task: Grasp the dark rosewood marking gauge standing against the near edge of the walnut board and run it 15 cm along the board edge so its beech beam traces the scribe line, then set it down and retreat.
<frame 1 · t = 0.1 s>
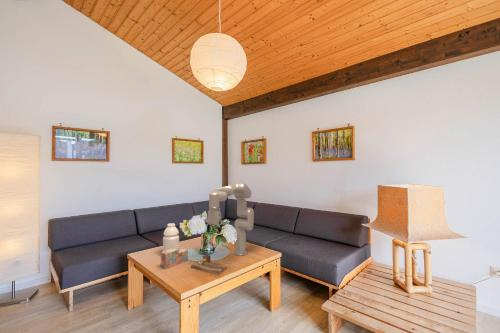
hand: (213, 232, 175), 31 cm above the table, fingers open, 9 cm apart
board: (208, 268, 184), on the table
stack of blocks: (174, 264, 191), on the table
gauge: (206, 262, 194), on the table
bottle: (171, 255, 210), on the table
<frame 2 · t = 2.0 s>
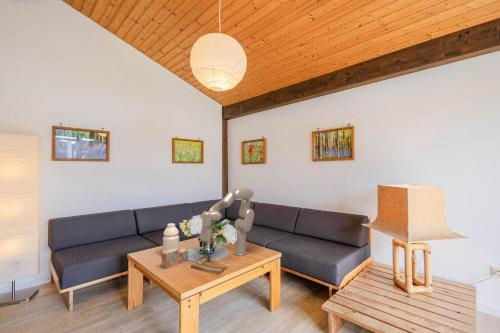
hand: (205, 247, 194), 13 cm above the table, fingers open, 9 cm apart
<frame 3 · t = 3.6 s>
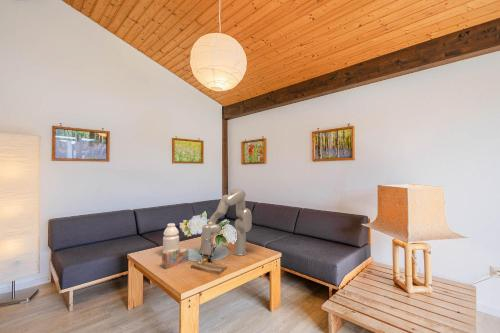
hand: (206, 262, 194), 1 cm above the table, fingers closed on gauge, 5 cm apart
gauge: (206, 262, 194), on the table, touching gripper
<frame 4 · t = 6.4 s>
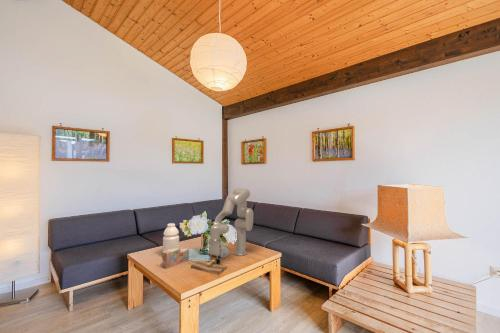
hand: (215, 262, 191), 1 cm above the table, fingers closed on gauge, 5 cm apart
gauge: (215, 263, 191), point 1 cm above the table, touching gripper
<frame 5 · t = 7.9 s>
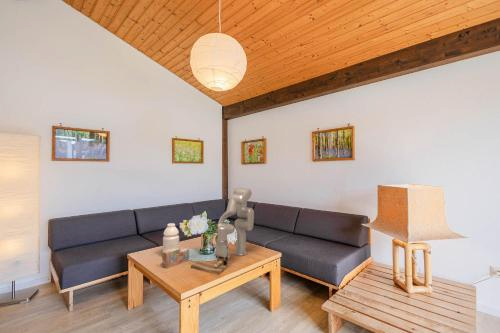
hand: (221, 264, 188), 1 cm above the table, fingers closed on gauge, 5 cm apart
gauge: (221, 265, 188), point 1 cm above the table, touching gripper
when the fingers open (1 cm above the table, at t = 9.1 s): gauge stays where it is, on the table.
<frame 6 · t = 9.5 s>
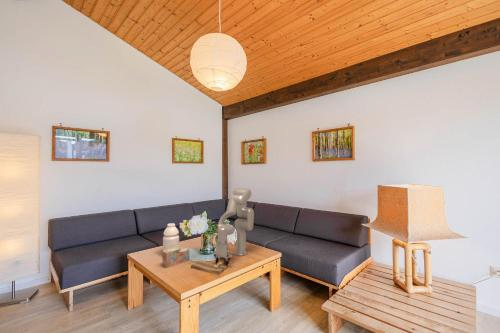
hand: (222, 264, 188), 2 cm above the table, fingers open, 9 cm apart
gauge: (222, 266, 188), on the table
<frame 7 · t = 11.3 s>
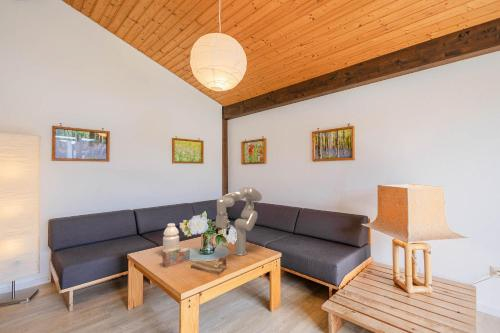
hand: (222, 234, 196), 23 cm above the table, fingers open, 9 cm apart
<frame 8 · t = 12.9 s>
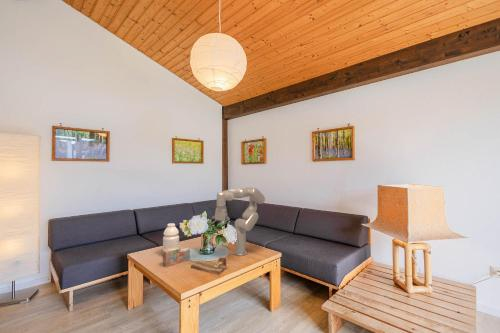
hand: (220, 227, 199), 28 cm above the table, fingers open, 9 cm apart
at the end: gauge 0.0 cm from the target spot, on the table; gauge tilted 0°; gauge moved 15.0 cm from its start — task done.
